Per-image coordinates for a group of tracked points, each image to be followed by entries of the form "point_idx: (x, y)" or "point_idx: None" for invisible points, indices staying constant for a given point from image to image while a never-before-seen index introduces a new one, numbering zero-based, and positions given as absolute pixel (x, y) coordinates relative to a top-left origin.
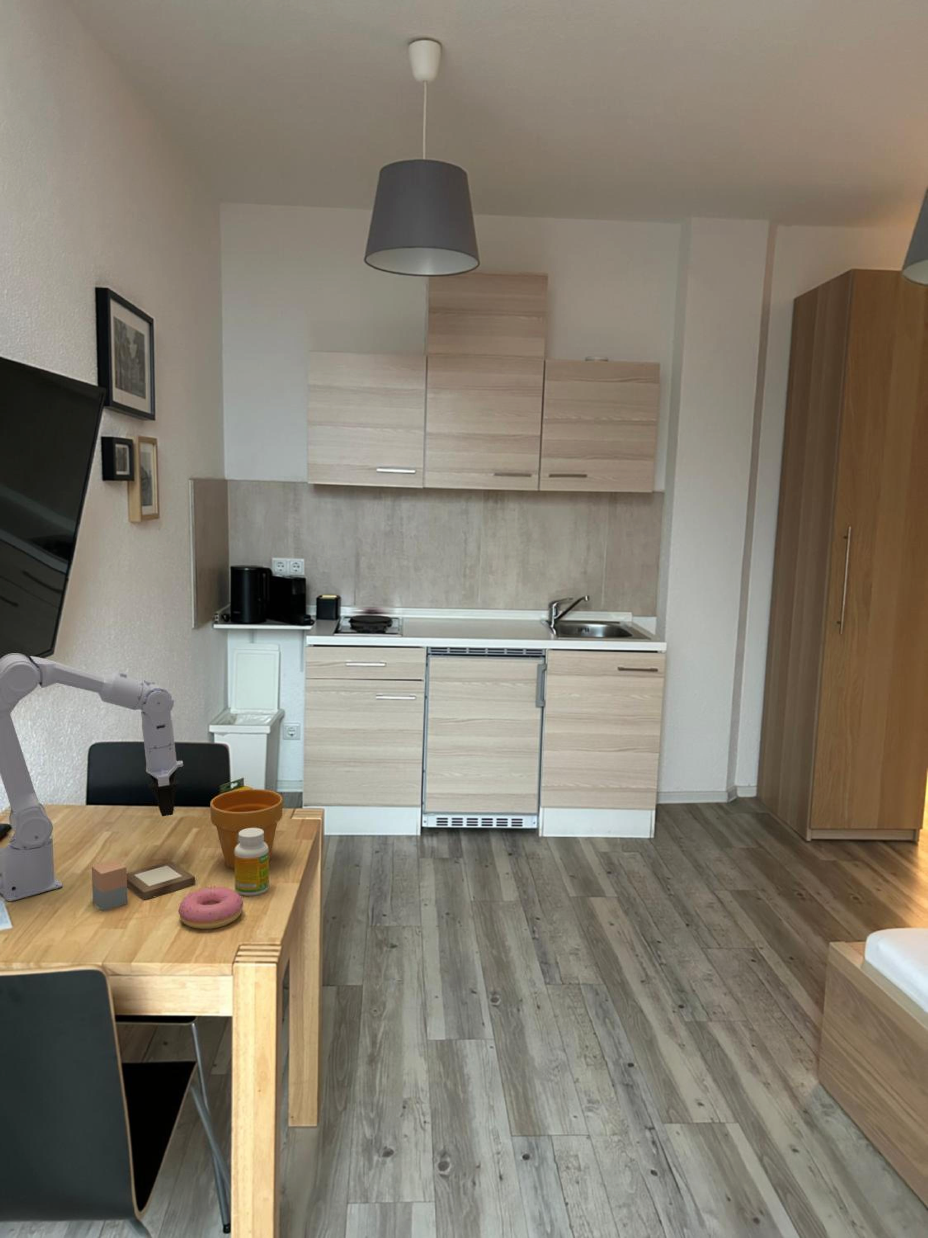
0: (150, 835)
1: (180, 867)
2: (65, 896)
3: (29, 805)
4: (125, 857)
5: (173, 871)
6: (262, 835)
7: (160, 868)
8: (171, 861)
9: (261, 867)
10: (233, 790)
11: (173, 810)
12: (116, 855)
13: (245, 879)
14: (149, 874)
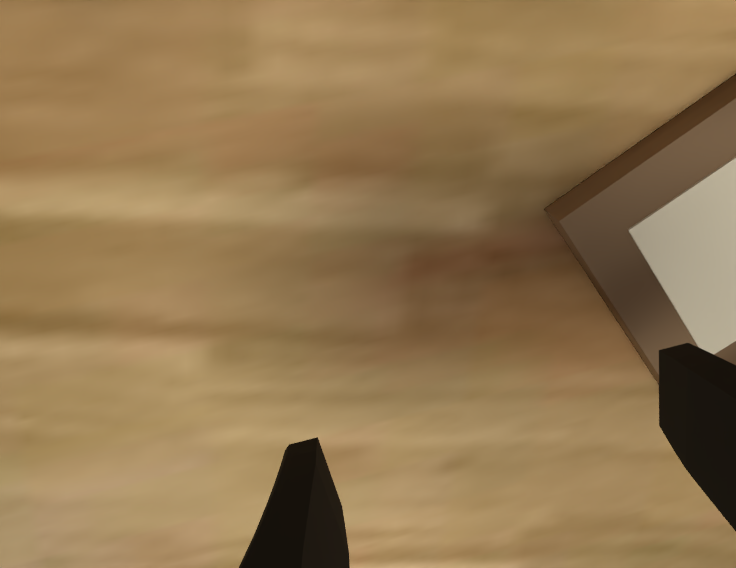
0: (73, 416)
1: (668, 148)
2: (732, 542)
3: None
4: (371, 451)
5: (722, 175)
6: None
7: (661, 255)
8: (568, 218)
9: None
10: None
11: (715, 357)
12: (343, 492)
13: None
14: (725, 291)
